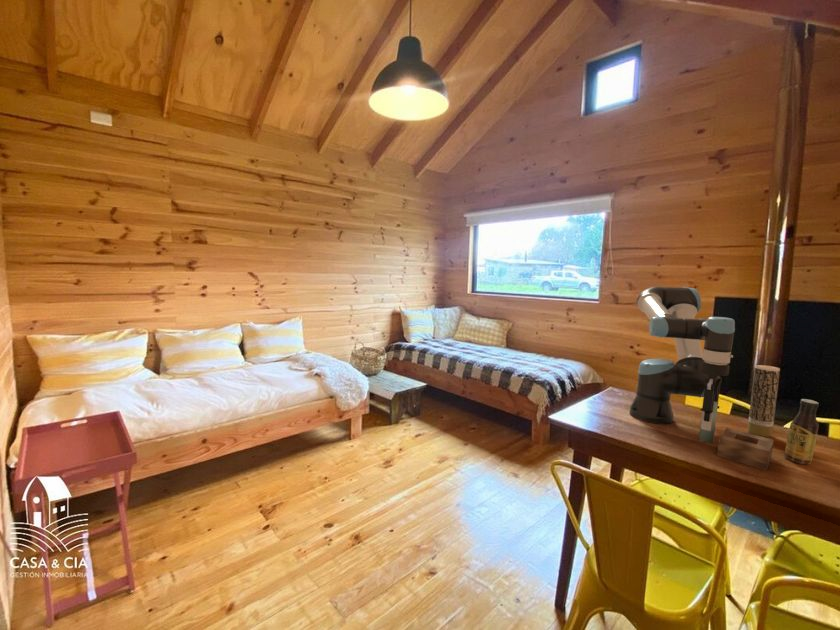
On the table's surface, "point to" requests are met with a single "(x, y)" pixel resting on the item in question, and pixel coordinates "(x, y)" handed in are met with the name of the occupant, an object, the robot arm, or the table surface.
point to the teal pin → (709, 435)
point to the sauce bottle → (803, 433)
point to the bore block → (745, 448)
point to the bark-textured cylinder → (763, 400)
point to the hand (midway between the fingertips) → (707, 427)
